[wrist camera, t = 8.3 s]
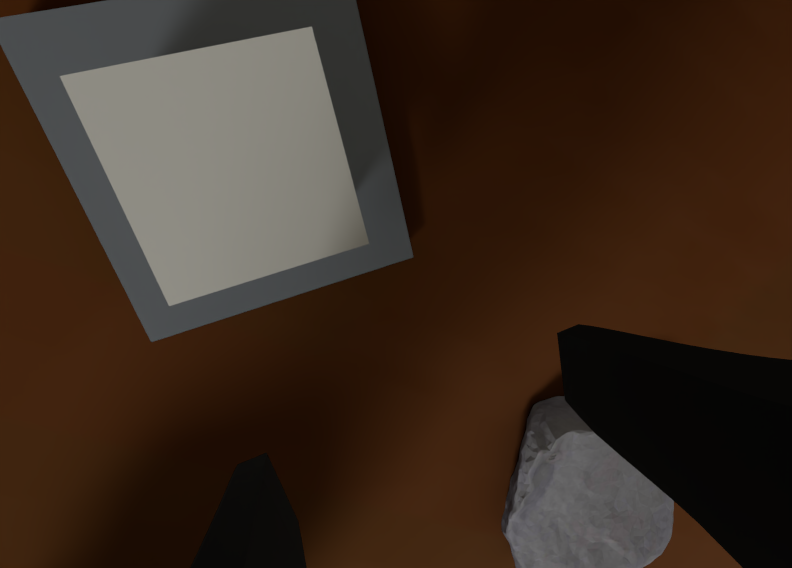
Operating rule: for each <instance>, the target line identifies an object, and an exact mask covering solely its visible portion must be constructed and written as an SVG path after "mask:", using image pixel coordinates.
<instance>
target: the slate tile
mask: <svg viewBox="0 0 792 568" xmlns="http://www.w3.org/2000/svg"><path fill="white" fill-rule="evenodd" d="M311 26H312V29H313V33H314V37H315V41H316V45H317V48H318V52H319V56H320V60H321V63H322V67H323V71H324V75H325V79H326V82H327V86H328V90H329V94H330V97H331V101H332V105H333V109H334V113H335V116H336V120H337V124H338V128H339V131H340V135H341V139H342V143H343V146H344V150H345V154H346V158H347V162H348V165H349V169H350V173H351V177H352V180H353V184H354V188H355V192H356V196H357V199H358V203H359V207H360V211H361V214H362V218H363V222H364V226H365V230H366V233H367V237H368V241H369V244H367V245H364V246H360V247H357V248H354V249H351V250H348V251H344V252H341V253H338V254H335V255H332V256H328V257H325V258H322V259H319V260H316V261H312V262H309V263H306V264H303V265H300V266H296V267H293V268H290V269H287V270H284V271H280V272H277V273H274V274H271V275H268V276H264V277H261V278H258V279H255V280H252V281H249V282H245V283H242V284H239V285H236V286H233V287H229V288H226V289H223V290H220V291H217V292H213V293H210V294H207V295H204V296H201V297H197V298H194V299H191V300H188V301H185V302H181V303H178V304H175V305H172V306H169V305H168V303H167V301H166V299H165V297H164V295H163V293H162V290H161V288H160V286H159V284H158V282H157V280H156V278H155V276H154V274H153V272H152V269H151V267H150V265H149V263H148V261H147V259H146V257H145V255H144V253H143V250H142V248H141V246H140V244H139V242H138V240H137V238H136V236H135V234H134V232H133V229H132V227H131V225H130V223H129V221H128V219H127V217H126V215H125V213H124V211H123V208H122V206H121V204H120V202H119V200H118V198H117V196H116V194H115V192H114V190H113V187H112V185H111V183H110V181H109V179H108V177H107V175H106V173H105V171H104V169H103V166H102V164H101V162H100V160H99V158H98V156H97V154H96V152H95V150H94V148H93V145H92V143H91V141H90V139H89V137H88V135H87V133H86V131H85V129H84V126H83V124H82V122H81V120H80V118H79V116H78V114H77V112H76V110H75V108H74V105H73V103H72V101H71V99H70V97H69V95H68V93H67V91H66V89H65V87H64V84H63V82H62V80H61V78H60V76H62V75H67V74H72V73H78V72H83V71H88V70H93V69H98V68H103V67H108V66H113V65H118V64H123V63H128V62H133V61H139V60H144V59H149V58H154V57H159V56H164V55H169V54H174V53H179V52H184V51H189V50H194V49H199V48H205V47H210V46H215V45H220V44H225V43H230V42H235V41H240V40H245V39H250V38H255V37H260V36H266V35H271V34H276V33H281V32H286V31H291V30H296V29H301V28H306V27H311ZM0 44H1V46H2V48H3V50H4V52H5V54H6V56H7V58H8V60H9V62H10V64H11V66H12V68H13V70H14V72H15V74H16V76H17V78H18V80H19V82H20V84H21V86H22V88H23V90H24V92H25V94H26V96H27V98H28V100H29V102H30V104H31V106H32V108H33V110H34V112H35V114H36V116H37V117H38V119H39V121H40V123H41V125H42V127H43V129H44V131H45V133H46V135H47V137H48V139H49V141H50V143H51V145H52V147H53V149H54V151H55V153H56V155H57V157H58V159H59V161H60V163H61V165H62V167H63V169H64V171H65V173H66V175H67V177H68V179H69V181H70V183H71V185H72V187H73V189H74V191H75V193H76V194H77V196H78V198H79V200H80V202H81V204H82V206H83V208H84V210H85V212H86V214H87V216H88V218H89V220H90V222H91V224H92V226H93V228H94V230H95V232H96V234H97V236H98V238H99V240H100V242H101V244H102V246H103V248H104V250H105V252H106V254H107V256H108V258H109V260H110V262H111V264H112V266H113V268H114V270H115V271H116V273H117V275H118V277H119V279H120V281H121V283H122V285H123V287H124V289H125V291H126V293H127V295H128V297H129V299H130V301H131V303H132V305H133V307H134V309H135V311H136V313H137V315H138V317H139V319H140V321H141V323H142V325H143V327H144V329H145V331H146V333H147V335H148V337H149V339H150V341H151V342H153V341H156V340H159V339H162V338H166V337H169V336H172V335H175V334H178V333H181V332H184V331H187V330H190V329H193V328H196V327H200V326H203V325H206V324H209V323H212V322H215V321H218V320H221V319H224V318H227V317H230V316H233V315H237V314H240V313H243V312H246V311H249V310H252V309H255V308H258V307H261V306H264V305H267V304H271V303H274V302H277V301H280V300H283V299H286V298H289V297H292V296H295V295H298V294H301V293H304V292H308V291H311V290H314V289H317V288H320V287H323V286H326V285H329V284H332V283H335V282H338V281H342V280H345V279H348V278H351V277H354V276H357V275H360V274H363V273H366V272H369V271H372V270H375V269H379V268H382V267H385V266H388V265H391V264H394V263H397V262H400V261H403V260H406V259H409V258H413V253H412V248H411V244H410V239H409V235H408V230H407V226H406V222H405V217H404V213H403V208H402V204H401V199H400V195H399V190H398V186H397V181H396V177H395V172H394V168H393V163H392V159H391V155H390V150H389V146H388V141H387V137H386V132H385V128H384V123H383V119H382V114H381V110H380V105H379V101H378V96H377V92H376V88H375V83H374V79H373V74H372V70H371V65H370V61H369V56H368V52H367V47H366V43H365V38H364V34H363V29H362V25H361V21H360V16H359V12H358V7H357V3H356V0H106V1H100V2H93V3H87V4H81V5H75V6H69V7H63V8H57V9H51V10H44V11H38V12H32V13H26V14H20V15H14V16H8V17H2V18H0Z"/></svg>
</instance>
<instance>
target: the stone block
mask: <svg viewBox="0 0 792 568" xmlns="http://www.w3.org/2000/svg"><path fill="white" fill-rule="evenodd" d="M673 510H674V501H673V500H672V499H671V498H670V497H669V496H668V495H666V494H665V493H664V492H663V491H662V490H660V489H659V488H658V487H657V486H656V485H655V484H653V483H652V482H651V481H650V480H649V479H647V478H646V477H645V476H644V475H643V474H642V473H640V472H639V471H638V470H637V469H636V468H635V467H633V466H632V465H631V464H630V463H629V462H627V461H626V460H625V459H624V458H623V457H622V456H620V455H619V454H618V453H617V452H616V451H615V450H613V449H612V448H611V447H610V446H609V445H608V444H606V443H605V442H604V441H603V440H602V439H601V438H600V437H599V436H597V435H596V434H595V433H594V432H593V431H592V430H591V429H590V428H589V427H588V426H587V424H586V423H585V422H584V421H583V420H582V419H581V418H580V417H579V416H578V415H577V414H576V412H575V411H574V410H573V409H572V408H571V407H570V406H569V404H568V403H567V402H566V401H565V396H556V397H553V398H549V399H547V400H543V401H539V402H538V403H536V404H534V405H533V407H532V409H531V412H530V414H529V416H528V419H527V425H526V432H525V434H524V437H523V440H522V443H521V447H520V451H519V460H518V462H517V464H516V468H515V471H514V473H513V475H512V476H511V480H510V487H509V492H508V495H507V498H506V506H505V511H504V514H503V517H502V523H501V526H502V532H503V534H504V535H505V537H506V538H507V540H508V541H509V544H510V547H511V552H512V556H513V558H514V561H515V567H516V568H643V567H644V566H646V565H648V564H649V563H651V562H652V561H653V560H654V559H655V558H657V557H658V556H660V555H661V554H662V553H663V551H664V549H665V547H666V546H667V544H668V542H669V540H670V538H671V535H672V525H673Z"/></svg>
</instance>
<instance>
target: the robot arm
mask: <svg viewBox="0 0 792 568" xmlns="http://www.w3.org/2000/svg"><path fill="white" fill-rule="evenodd" d="M557 335H558V344H559V352H560V361H561V370H562V378H563V387H564V396H565V401H566V402H567V403H568V404H569V406H570V407H571V408H572V409H573V410H574V411H575V412H576V414H577V415H578V416H579V417H580V418H581V419H582V420H583V421H584V422H585V423H586V424H587V426H588V427H589V428H590V429H591V430H592V431H593V432H594V433H595V434H596V435H597V436H599V437H600V438H601V439H602V440H603V441H604V442H605V443H606V444H608V445H609V446H610V447H611V448H612V449H613V450H615V451H616V452H617V453H618V454H619V455H620V456H622V457H623V458H624V459H625V460H626V461H627V462H629V463H630V464H631V465H632V466H633V467H635V468H636V469H637V470H638V471H639V472H640V473H642V474H643V475H644V476H645V477H646V478H647V479H649V480H650V481H651V482H652V483H653V484H655V485H656V486H657V487H658V488H659V489H660V490H662V491H663V492H664V493H665V494H666V495H668V496H669V497H670V498H671V499H672V500H673V501H675V502H676V503H677V504H678V505H679V506H680V507H681V508H683V509H684V510H685V511H686V512H687V513H688V514H689V515H690V516H691V517H692V518H694V519H695V520H696V521H697V522H698V523H699V524H700V525H701V526H702V527H703V528H704V529H705V530H706V531H707V532H708V533H709V534H710V535H711V536H712V537H713V538H714V539H715V540H716V541H717V542H718V543H719V544H720V545H721V546H722V547H723V548H724V549H725V550H726V551H727V552H728V553H729V554H730V555H731V556H732V557H733V558H734V559H735V560H736V561H737V562H738V563H739V564H740V565H741V566H742V567H743V568H792V360H787V359H778V358H768V357H761V356H753V355H746V354H739V353H733V352H727V351H720V350H714V349H708V348H702V347H696V346H691V345H685V344H680V343H675V342H670V341H665V340H660V339H655V338H650V337H645V336H640V335H635V334H630V333H625V332H620V331H615V330H610V329H605V328H600V327H594V326H587V325H579V324H578V325H576V326H573V327H571V328H568V329H566V330H564V331H561V332H559V333H557ZM190 568H306V562H305V556H304V550H303V545H302V540H301V534H300V529H299V523H298V520H297V518H296V515H295V513H294V511H293V509H292V507H291V505H290V503H289V500H288V498H287V496H286V494H285V492H284V490H283V487H282V485H281V483H280V481H279V479H278V477H277V474H276V472H275V470H274V468H273V466H272V464H271V461H270V459H269V457H268V455H267V453H265V454H262V455H260V456H257V457H255V458H252V459H250V460H248V461H245V462H243V463H240V464H238V465H237V467H236V469H235V471H234V473H233V475H232V477H231V479H230V482H229V484H228V486H227V489H226V491H225V493H224V496H223V498H222V500H221V502H220V505H219V507H218V509H217V512H216V514H215V516H214V518H213V521H212V523H211V525H210V527H209V529H208V531H207V534H206V536H205V538H204V540H203V542H202V544H201V546H200V548H199V551H198V553H197V555H196V557H195V559H194V561H193V563H192V565H191V567H190Z"/></svg>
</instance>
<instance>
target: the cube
mask: <svg viewBox="0 0 792 568" xmlns="http://www.w3.org/2000/svg"><path fill="white" fill-rule="evenodd" d="M60 78H61V80H62V82H63V84H64V87H65V89H66V91H67V93H68V95H69V97H70V99H71V101H72V103H73V105H74V108H75V110H76V112H77V114H78V116H79V118H80V120H81V122H82V124H83V126H84V129H85V131H86V133H87V135H88V137H89V139H90V141H91V143H92V145H93V148H94V150H95V152H96V154H97V156H98V158H99V160H100V162H101V164H102V166H103V169H104V171H105V173H106V175H107V177H108V179H109V181H110V183H111V185H112V187H113V190H114V192H115V194H116V196H117V198H118V200H119V202H120V204H121V206H122V208H123V211H124V213H125V215H126V217H127V219H128V221H129V223H130V225H131V227H132V229H133V232H134V234H135V236H136V238H137V240H138V242H139V244H140V246H141V248H142V250H143V253H144V255H145V257H146V259H147V261H148V263H149V265H150V267H151V269H152V272H153V274H154V276H155V278H156V280H157V282H158V284H159V286H160V288H161V290H162V293H163V295H164V297H165V299H166V301H167V303H168V305H169V306H172V305H175V304H178V303H181V302H185V301H188V300H191V299H194V298H197V297H201V296H204V295H207V294H210V293H213V292H217V291H220V290H223V289H226V288H229V287H233V286H236V285H239V284H242V283H245V282H249V281H252V280H255V279H258V278H261V277H264V276H268V275H271V274H274V273H277V272H280V271H284V270H287V269H290V268H293V267H296V266H300V265H303V264H306V263H309V262H312V261H316V260H319V259H322V258H325V257H328V256H332V255H335V254H338V253H341V252H344V251H348V250H351V249H354V248H357V247H360V246H364V245H367V244H369V241H368V237H367V233H366V230H365V226H364V222H363V218H362V214H361V211H360V207H359V203H358V199H357V196H356V192H355V188H354V184H353V180H352V177H351V173H350V169H349V165H348V162H347V158H346V154H345V150H344V146H343V143H342V139H341V135H340V131H339V128H338V124H337V120H336V116H335V113H334V109H333V105H332V101H331V97H330V94H329V90H328V86H327V82H326V79H325V75H324V71H323V67H322V63H321V60H320V56H319V52H318V48H317V45H316V41H315V37H314V33H313V29H312V26H311V27H306V28H301V29H296V30H291V31H286V32H281V33H276V34H271V35H266V36H260V37H255V38H250V39H245V40H240V41H235V42H230V43H225V44H220V45H215V46H210V47H205V48H199V49H194V50H189V51H184V52H179V53H174V54H169V55H164V56H159V57H154V58H149V59H144V60H139V61H133V62H128V63H123V64H118V65H113V66H108V67H103V68H98V69H93V70H88V71H83V72H78V73H72V74H67V75H62V76H60Z"/></svg>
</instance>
